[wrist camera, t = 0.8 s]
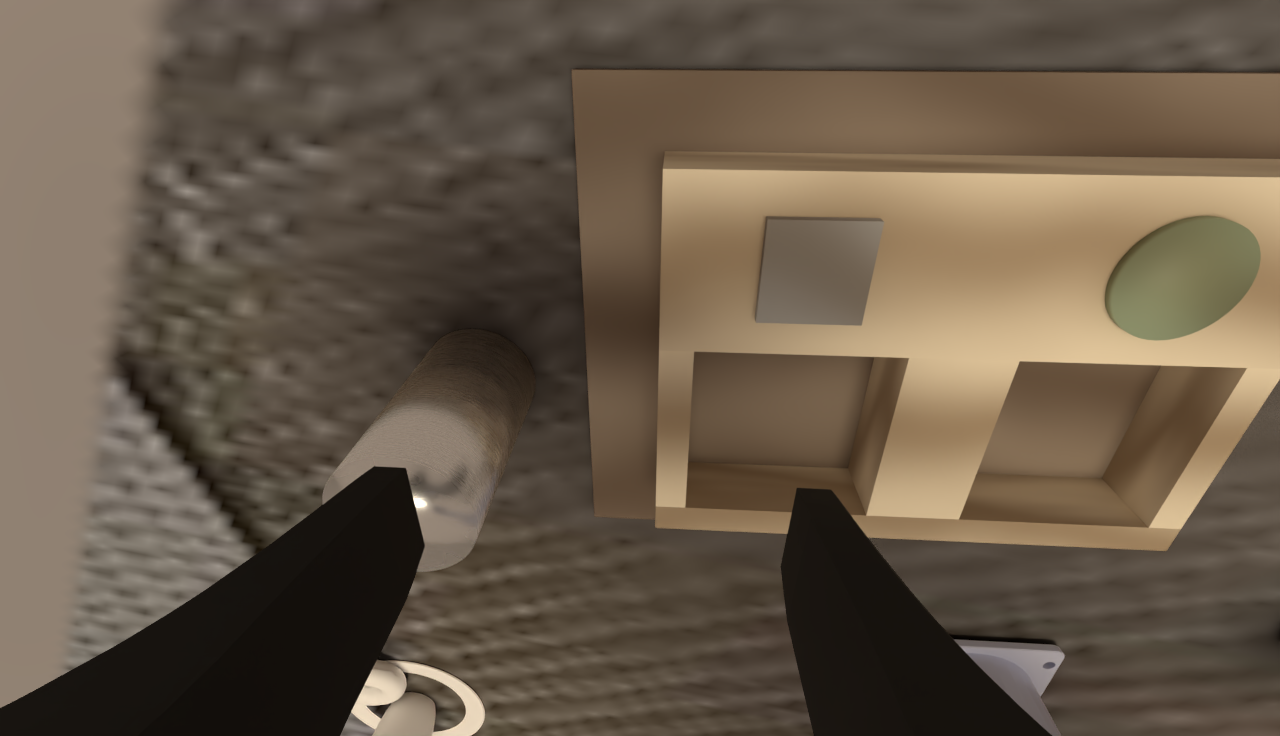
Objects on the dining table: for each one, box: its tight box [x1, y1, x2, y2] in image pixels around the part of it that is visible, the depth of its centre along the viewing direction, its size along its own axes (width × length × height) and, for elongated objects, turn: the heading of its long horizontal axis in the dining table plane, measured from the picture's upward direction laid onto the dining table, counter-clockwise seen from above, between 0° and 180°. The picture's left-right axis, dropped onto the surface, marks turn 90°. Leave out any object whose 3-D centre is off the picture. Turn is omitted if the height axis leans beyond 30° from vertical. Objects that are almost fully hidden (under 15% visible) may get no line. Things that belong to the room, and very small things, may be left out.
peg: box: [322, 329, 536, 572], centre depth 18 cm, size 4×4×7 cm
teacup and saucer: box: [351, 660, 485, 736], centre depth 30 cm, size 9×8×4 cm
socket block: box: [572, 69, 1280, 551], centre depth 18 cm, size 16×22×3 cm
